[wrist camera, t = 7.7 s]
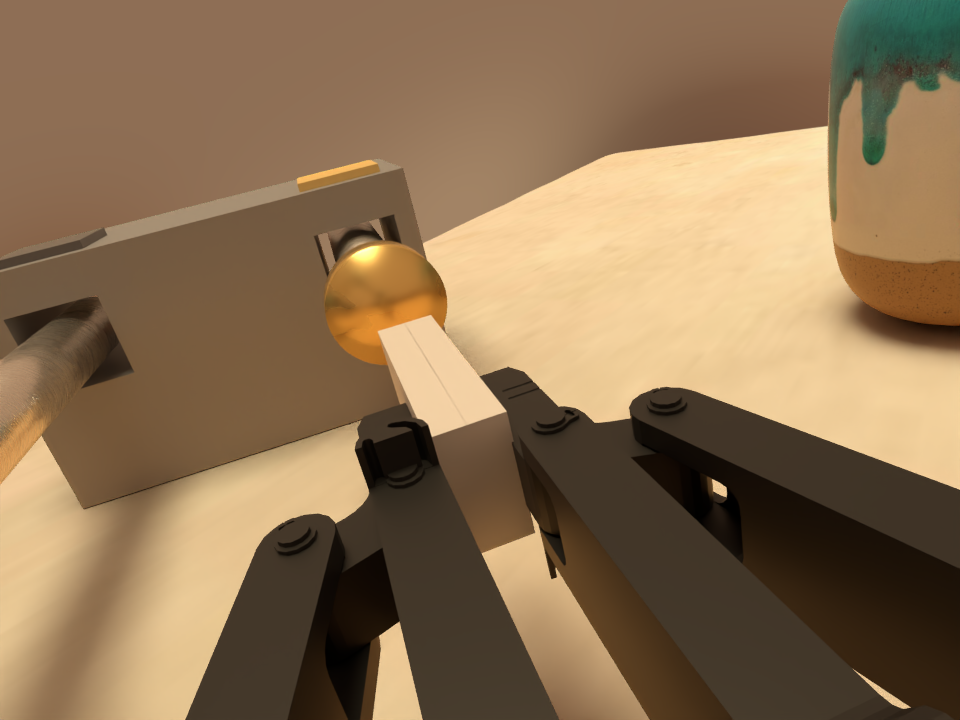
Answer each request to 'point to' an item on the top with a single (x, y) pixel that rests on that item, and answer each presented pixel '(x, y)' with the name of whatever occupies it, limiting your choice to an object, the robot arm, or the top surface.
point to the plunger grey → (49, 375)
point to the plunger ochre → (377, 290)
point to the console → (207, 328)
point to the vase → (897, 156)
